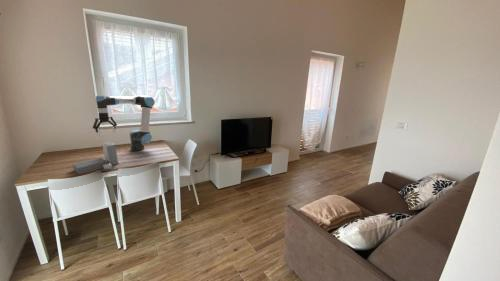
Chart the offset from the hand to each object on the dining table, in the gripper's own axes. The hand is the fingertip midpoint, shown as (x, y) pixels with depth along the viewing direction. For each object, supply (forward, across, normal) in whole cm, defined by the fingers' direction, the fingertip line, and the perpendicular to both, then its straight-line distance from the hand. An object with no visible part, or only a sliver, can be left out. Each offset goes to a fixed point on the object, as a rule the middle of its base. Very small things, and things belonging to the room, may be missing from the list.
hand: (106, 134), depth 202 cm
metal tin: (+30, +9, +14) cm, 34 cm away
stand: (+30, +18, 0) cm, 35 cm away
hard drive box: (+30, 0, 0) cm, 30 cm away
